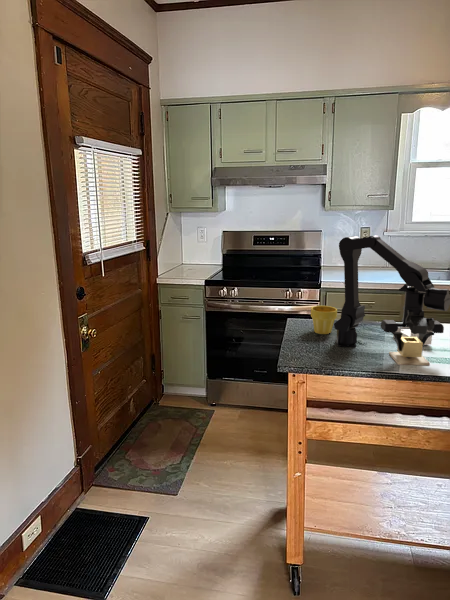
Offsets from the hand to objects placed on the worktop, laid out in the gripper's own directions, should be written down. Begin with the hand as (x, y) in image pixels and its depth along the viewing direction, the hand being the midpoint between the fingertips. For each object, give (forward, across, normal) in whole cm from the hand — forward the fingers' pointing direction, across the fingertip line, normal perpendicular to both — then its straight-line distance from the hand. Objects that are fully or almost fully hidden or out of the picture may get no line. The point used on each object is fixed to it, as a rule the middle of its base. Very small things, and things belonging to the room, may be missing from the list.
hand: (409, 350), depth 151 cm
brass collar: (+1, 0, 0) cm, 1 cm away
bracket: (+4, +8, +20) cm, 21 cm away
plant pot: (+3, -24, +30) cm, 38 cm away
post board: (+3, 0, 0) cm, 3 cm away
